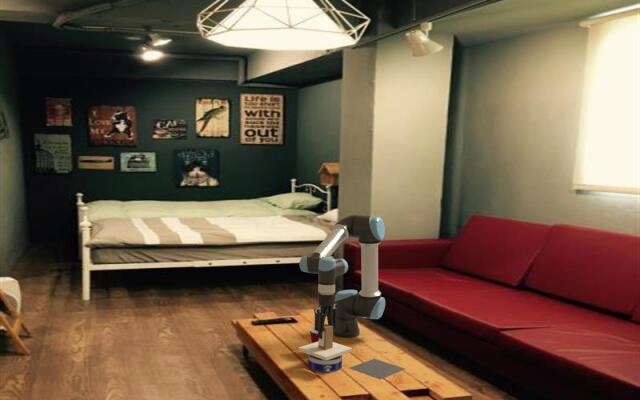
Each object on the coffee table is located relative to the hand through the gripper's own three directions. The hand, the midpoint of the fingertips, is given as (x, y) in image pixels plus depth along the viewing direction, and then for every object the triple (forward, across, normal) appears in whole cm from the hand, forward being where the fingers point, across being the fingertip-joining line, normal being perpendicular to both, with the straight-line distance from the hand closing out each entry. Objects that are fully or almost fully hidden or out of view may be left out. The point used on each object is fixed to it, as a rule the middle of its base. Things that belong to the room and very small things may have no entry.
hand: (325, 344), depth 259 cm
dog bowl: (+11, 0, 0) cm, 11 cm away
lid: (+3, 0, 0) cm, 3 cm away
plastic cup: (+11, -11, -14) cm, 21 cm away
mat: (+11, -15, +18) cm, 26 cm away
